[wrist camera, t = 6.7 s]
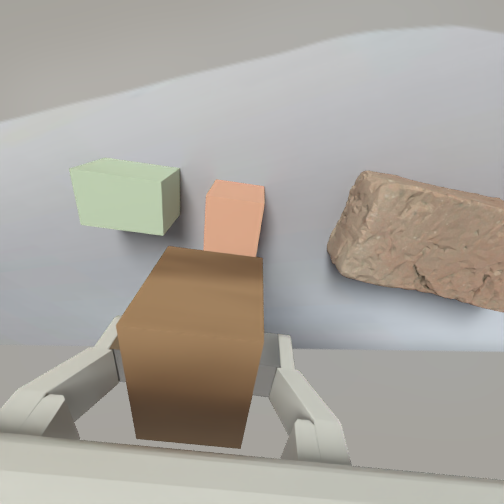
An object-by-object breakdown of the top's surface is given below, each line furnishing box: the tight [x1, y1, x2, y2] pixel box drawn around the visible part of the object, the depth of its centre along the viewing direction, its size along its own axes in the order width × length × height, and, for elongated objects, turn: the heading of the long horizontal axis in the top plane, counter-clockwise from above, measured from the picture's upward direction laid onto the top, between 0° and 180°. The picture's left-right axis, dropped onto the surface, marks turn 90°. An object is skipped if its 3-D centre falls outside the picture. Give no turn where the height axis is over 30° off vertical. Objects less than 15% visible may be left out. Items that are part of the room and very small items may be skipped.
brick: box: [327, 171, 504, 312], centre depth 21 cm, size 16×8×5 cm, turn 78°
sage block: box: [69, 158, 180, 236], centre depth 20 cm, size 6×4×4 cm, turn 83°
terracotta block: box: [204, 180, 265, 257], centre depth 21 cm, size 6×4×4 cm, turn 172°
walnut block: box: [116, 246, 264, 449], centre depth 10 cm, size 6×4×4 cm, turn 173°
